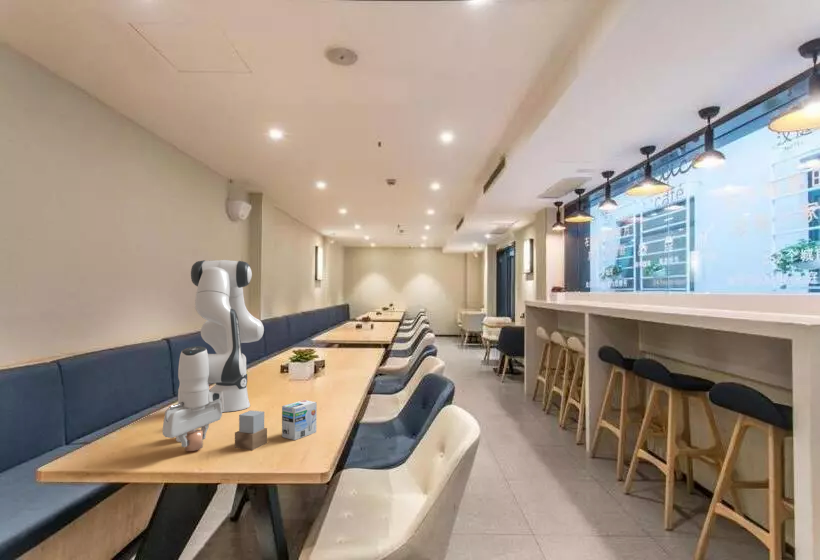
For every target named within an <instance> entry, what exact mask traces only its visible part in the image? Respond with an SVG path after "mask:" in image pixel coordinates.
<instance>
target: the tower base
mask: <svg viewBox="0 0 820 560" xmlns="http://www.w3.org/2000/svg"><path fill="white" fill-rule="evenodd" d="M266 444H268V428H267V427H264V429H262V430H260V431H258V432H256V433H254V434H252V433H243V432H239V430H238V431H235V432H234V448H235V449H241V450H246V451H247V450H249V451H254V450H256V449H258V448H260V447H263V446H264V445H266Z"/></svg>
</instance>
